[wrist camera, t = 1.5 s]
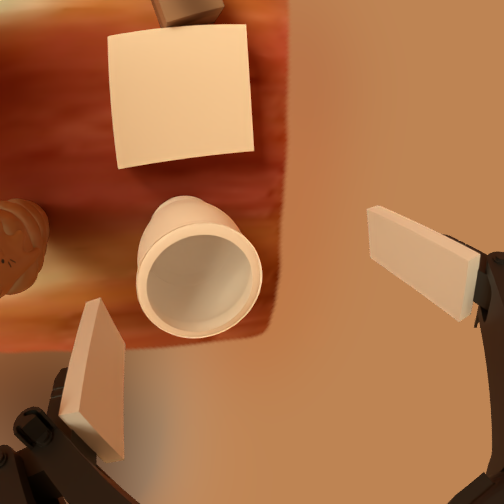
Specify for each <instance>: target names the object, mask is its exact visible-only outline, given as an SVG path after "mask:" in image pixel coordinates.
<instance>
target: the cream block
mask: <svg viewBox="0 0 504 504" xmlns="http://www.w3.org/2000/svg"><path fill="white" fill-rule="evenodd" d="M108 64H109V84H110V98H111V111H112V121H113V131H114V140H115V149H116V157H117V165H118V169H122V168H128V167H133V166H139V165H145V164H151V163H158V162H164V161H171V160H178V159H185V158H193V157H201V156H209V155H218V154H227V153H237V152H248V151H254V140H253V124H252V108H251V92H250V77H249V62H248V47H247V32H246V24H218V25H194V26H180V27H169V28H159V29H151V30H143V31H136V32H129V33H123V34H117V35H112V36H108Z"/></svg>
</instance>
